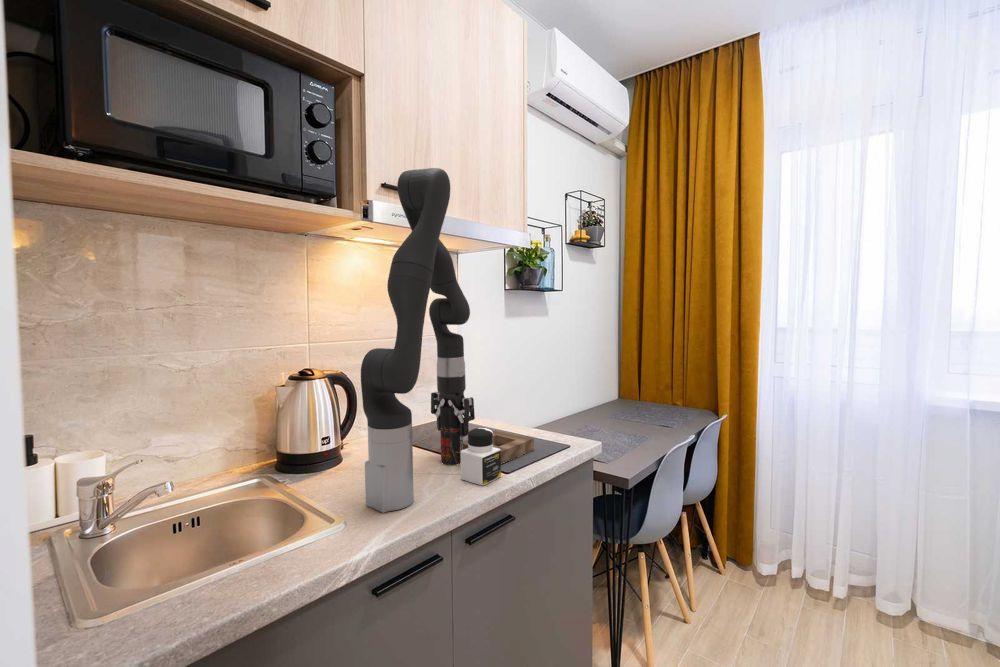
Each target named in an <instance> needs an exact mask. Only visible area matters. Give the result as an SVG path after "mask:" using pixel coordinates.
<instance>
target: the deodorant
mask: <svg viewBox="0 0 1000 667" xmlns="http://www.w3.org/2000/svg"><path fill="white" fill-rule="evenodd" d="M457 409H458V410H459V411H461V410H462V407H461V408H457ZM460 423H461V422H460V420H459V418H458V416H456V415H455V413H454V409H452V408H450V407H446V406H443V407H442V406H440V428H441V431H440V463H441V464H442V463H443V464H442V465H444V464H445V466H458V465H461V464H460V463H461V451H462V450H463V441H464V437H461V436H460ZM457 464H458V465H457Z"/></svg>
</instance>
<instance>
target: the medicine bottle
mask: <svg viewBox="0 0 1000 667" xmlns="http://www.w3.org/2000/svg"><path fill="white" fill-rule="evenodd" d="M467 440H468V447H469V448H467V449H464V450H462V451H461V464H460V479H461V480H463V481H466V482H469V483H473V484H475V485H479V486H485V485H488V484H489V483H491V482H494V481H495V480H497V479H499V478H501V477H502V465H501V450H500V449H499V448H495V447H493V432H492V430H491V429H489V428H486V427H485V428H484V427H476V428H473V429H471V430H469V432H468V435H467Z"/></svg>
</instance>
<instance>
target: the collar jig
mask: <svg viewBox="0 0 1000 667" xmlns="http://www.w3.org/2000/svg"><path fill="white" fill-rule="evenodd" d="M491 431H492V430H491ZM492 432H493V447H495V448H499V449H500V450H501V463H503V462H506V461H509V460H511V459H513V458H515V459H517V458H516V457H518V456H520V457H522V456H524V455H523V454H525V455H527V454H529V453H531V452H534V451H535V439H534V437H529V436H524V435H522V434H521V435H520V434H516V433H513V432H512V433H511V432H507V431H502V430H497V429H496V430H493V431H492ZM467 448H469V447H468V439H466V440H463V450H464V449H467ZM533 450H534V451H533ZM528 452H529V453H528ZM526 453H527V454H526ZM521 455H522V456H521ZM518 458H519V457H518ZM513 460H514V459H513ZM511 461H512V460H511ZM509 462H510V461H509ZM506 463H507V462H506Z"/></svg>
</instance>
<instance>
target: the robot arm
mask: <svg viewBox="0 0 1000 667" xmlns="http://www.w3.org/2000/svg"><path fill="white" fill-rule="evenodd" d="M449 177H450V176H449V175H448V173H447V172H446V171H445V170H444V169H442V168H441V167H439V168H437V167H428V168H421V169H408V170H405V171H403V172H401V174H400V175H399V176H398V179H397V183H396V184H397V193H398V199H399V201H400V205H401V207H402V209H403V213H404V215H405V217H406V220H407V222H408V224H409V227H410V229H411V233H409V234H408V236H407V237H406V238H405V239H404V241H403V242H402V243H401V245H400V246H398V249H397V250H396V251H395V253H394V254H393V257H392V260H391V264H390V268H389V272H388V273H389V274H388V278H387V285H386V286H387V288H386V289H387V294H388V298H389V300H390V304H391V306H392V309H393V312H394V315H395V318H396V324H397V329H396V337H395V344H394V346H393V348H383V347H377V348H376V347H375V348H373V349H370V350H368V351H367V353H366V354H365V355H364V356H363V359H362V363H361V366H360V387H361V399H362V409H363V413H364V415H365V417H366V421H367V446H368V447H367V449H368V460H365V462H364V483H365V485H364V488H365V489H364V490H365V505H366V506H367V507H369V508H371V509H373V510H376V511H377V512H381V513H382V514H383V513H386V512H391V511H398V510H402V509H404V508H407V507H409V506H411V505H412V504H413V503H414V501H415V498H414V496H415V490H414V456H413V455H414V454H413V453H414V452H413V414H412V413H413V412H412V410H411V409H410V407H408V406H406V405H405V404H404V403H403V402H401V401H400V400H399V399H398V397H397V396H396V394H398V395H399V394H400V395H405V394H407V393H410V392H411V391H412V390H413V389H414V387H415V386H416V383H417V381H418V378H419V373H420V367H421V358H422V357H421V356H422V347H423V346H422V344H423V334H424V325H425V317H426V312H427V306H428V301H429V300H428V299H429V295H430V291H431V292H432V293H434V294H437V295H441V296H443V297H437V298H435V299H433V300H432V301H431V303H430V305H429V308H428V314H429V319H430V322H431V326H432V328H433V333H434V337H435V340H436V356H437V357H436V358H437V359H436V391H435V392H431V393H430V413H431V415H434V416H435V417H436V427H437V430H438V431H440V432H441V428H440V406H442V407H443V406H446V407H450V408H452V409H454V413H455V415H456V416H458V418H459V420H460V422H461V423H460V436H461V437H463V438H464V437H468V432H469V431H470V430H469V424H470V422H471V421H473V420H475V419H476V416H475V403H474V402H475V401H474V397H473V396H470V397H465V395H464V394H465V391H466V389H467V388H466V386H467V384H466V362H465V354H464V352H465V349H464V348H465V346H464V345H465V344H464V342H465V341H464V337H463V336H462V335H461V334H459V333H456V332H452V331H451V330H449V327H448V326H450V325H451V326H452V325H453V326H454V325H455V326H461V325H464V324H466V323H468V320H469V318H470V316H471V309H470V304H469V302H468V300H467V298H466V296H465V295H464V292H463V291H462V289H461V286H460V284H459V282H458V280H457V276H456V270H455V265H454V261H453V258H452V255H451V254H450V252H449V250H448V248H447V247H446V246H445V245H444V242H442V240H441V239H440V236H441V233H442V228H443V224H444V221H445V218H446V214H447V210H448V207H449V203H450V197H451V182H450V178H449ZM461 407H462V410H461V411H459V410H458V409H457V408H461Z"/></svg>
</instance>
